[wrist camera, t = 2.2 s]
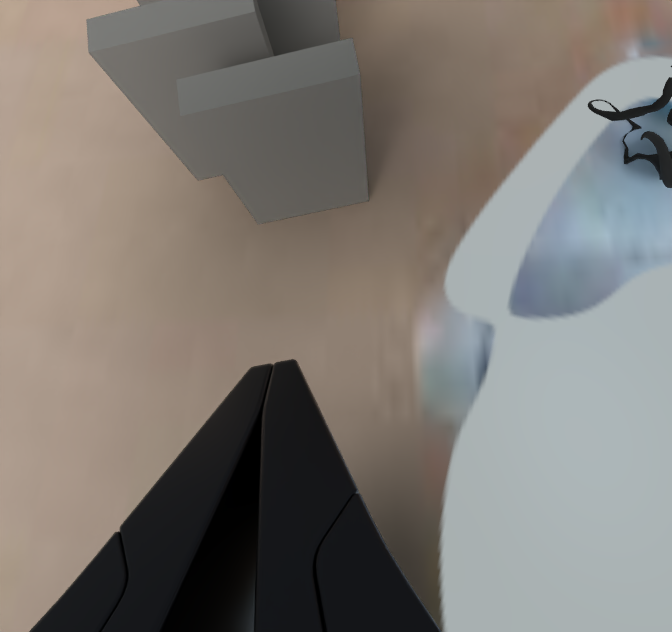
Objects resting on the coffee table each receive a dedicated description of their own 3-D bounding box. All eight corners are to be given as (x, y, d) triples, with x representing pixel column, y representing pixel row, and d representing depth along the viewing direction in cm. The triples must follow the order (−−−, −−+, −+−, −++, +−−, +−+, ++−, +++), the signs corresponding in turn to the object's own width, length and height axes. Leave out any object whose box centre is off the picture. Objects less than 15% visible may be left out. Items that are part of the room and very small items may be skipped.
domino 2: (346, 92, 24) (325, -87, 15) (242, 116, 24) (161, -45, 15) (342, 71, 24) (318, -118, 15) (239, 95, 24) (158, -75, 16)
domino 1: (303, 157, 23) (254, 11, 14) (197, 180, 24) (88, 52, 15) (299, 134, 24) (249, -22, 15) (195, 158, 24) (86, 19, 15)
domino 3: (368, 200, 22) (360, 74, 14) (258, 224, 23) (180, 115, 14) (363, 176, 23) (352, 37, 14) (254, 200, 23) (176, 79, 14)
